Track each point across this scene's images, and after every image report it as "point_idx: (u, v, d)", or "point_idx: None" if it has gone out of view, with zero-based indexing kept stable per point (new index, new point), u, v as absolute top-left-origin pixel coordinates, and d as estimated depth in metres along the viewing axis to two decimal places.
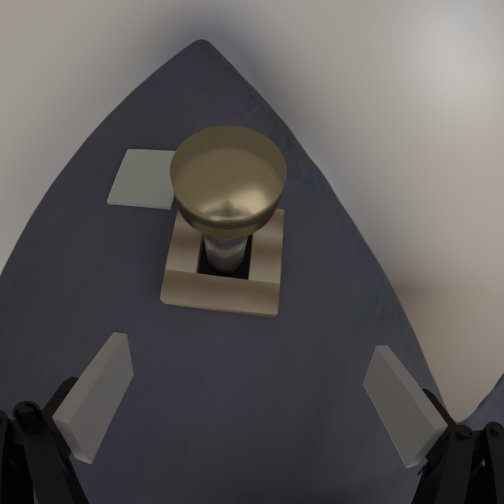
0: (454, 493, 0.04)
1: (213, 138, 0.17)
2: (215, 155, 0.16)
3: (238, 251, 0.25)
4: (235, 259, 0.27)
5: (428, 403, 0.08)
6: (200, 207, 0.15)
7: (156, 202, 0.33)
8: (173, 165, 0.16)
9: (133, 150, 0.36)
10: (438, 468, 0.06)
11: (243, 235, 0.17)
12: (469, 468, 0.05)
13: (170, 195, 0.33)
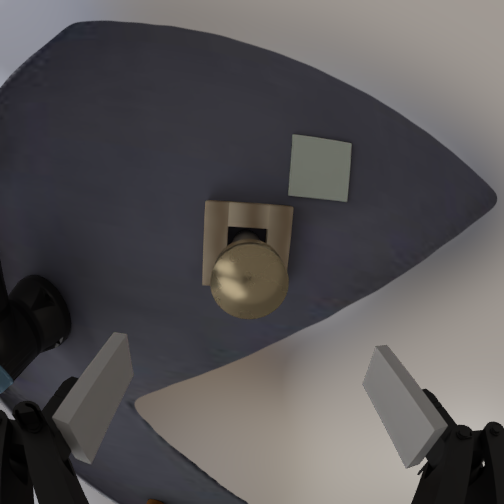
0: (454, 493, 0.04)
1: (274, 272, 0.25)
2: (257, 275, 0.25)
3: None
4: None
5: (428, 403, 0.08)
6: (215, 270, 0.24)
7: (292, 182, 0.39)
8: (247, 248, 0.24)
9: (349, 149, 0.38)
10: (438, 468, 0.06)
11: None
12: (469, 468, 0.05)
13: (300, 193, 0.39)
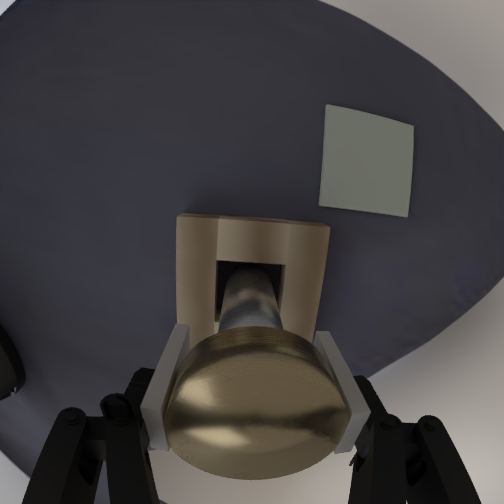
0: (391, 488, 0.05)
1: (318, 418, 0.08)
2: (277, 426, 0.08)
3: None
4: None
5: (354, 388, 0.10)
6: (170, 415, 0.08)
7: (327, 184, 0.23)
8: (251, 378, 0.08)
9: (411, 135, 0.21)
10: (367, 462, 0.07)
11: None
12: (403, 458, 0.06)
13: (339, 203, 0.23)
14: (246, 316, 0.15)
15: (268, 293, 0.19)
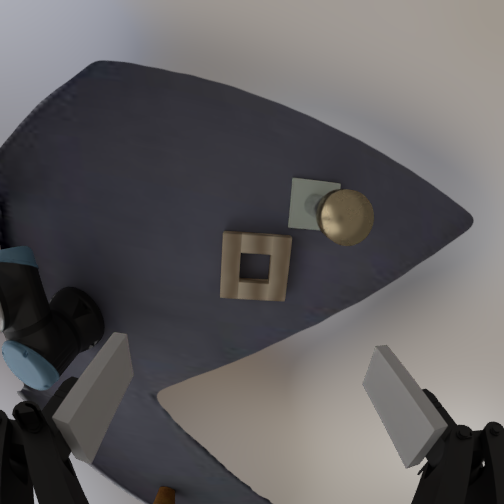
0: (454, 493, 0.04)
1: (365, 210, 0.33)
2: (354, 211, 0.33)
3: (316, 216, 0.43)
4: (312, 214, 0.45)
5: (428, 403, 0.08)
6: (326, 206, 0.32)
7: (292, 217, 0.50)
8: (348, 191, 0.32)
9: None
10: (438, 468, 0.06)
11: None
12: (469, 468, 0.05)
13: (297, 226, 0.50)
14: None
15: None
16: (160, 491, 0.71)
